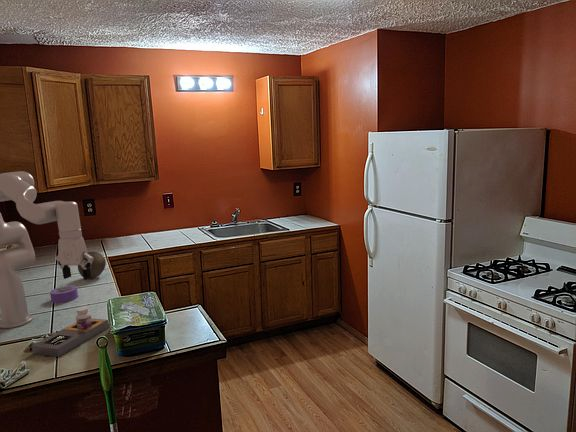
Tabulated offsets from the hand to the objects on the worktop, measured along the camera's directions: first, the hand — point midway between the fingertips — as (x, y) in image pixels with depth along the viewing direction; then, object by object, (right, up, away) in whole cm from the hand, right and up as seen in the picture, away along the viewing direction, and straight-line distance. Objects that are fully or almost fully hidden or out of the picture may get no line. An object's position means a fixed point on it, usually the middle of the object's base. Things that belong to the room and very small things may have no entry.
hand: (77, 278), depth 170 cm
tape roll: (-28, -17, +46) cm, 56 cm away
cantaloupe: (-28, -11, +79) cm, 84 cm away
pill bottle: (+1, -22, +4) cm, 22 cm away
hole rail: (-1, -23, -2) cm, 23 cm away
